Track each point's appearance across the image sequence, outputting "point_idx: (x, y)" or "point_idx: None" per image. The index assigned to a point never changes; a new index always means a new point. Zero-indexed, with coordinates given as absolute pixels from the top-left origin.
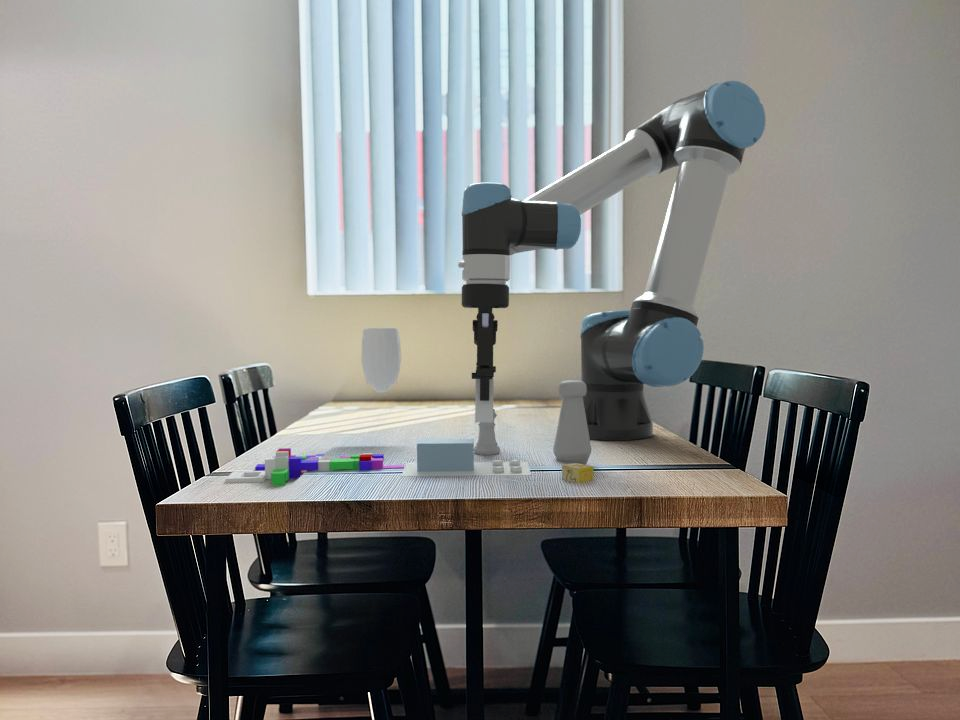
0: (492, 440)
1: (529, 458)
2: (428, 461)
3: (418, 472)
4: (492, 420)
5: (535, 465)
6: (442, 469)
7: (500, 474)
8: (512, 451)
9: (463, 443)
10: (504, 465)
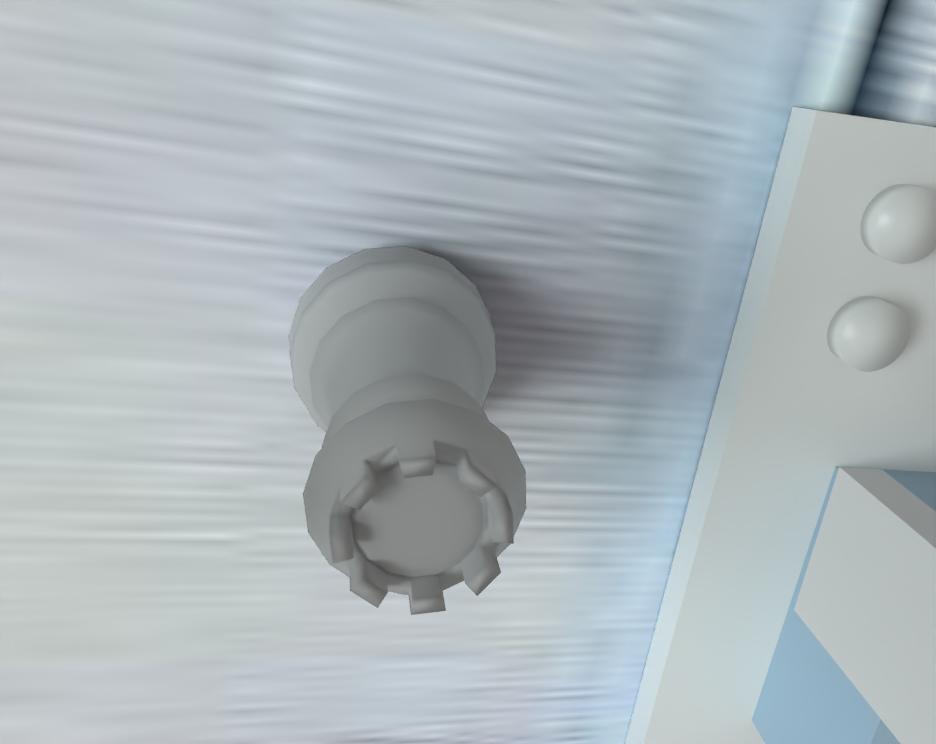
0: (460, 355)
1: (418, 7)
2: None
3: None
4: (894, 483)
5: (708, 21)
6: None
7: None
8: (61, 95)
9: None
10: (892, 289)
